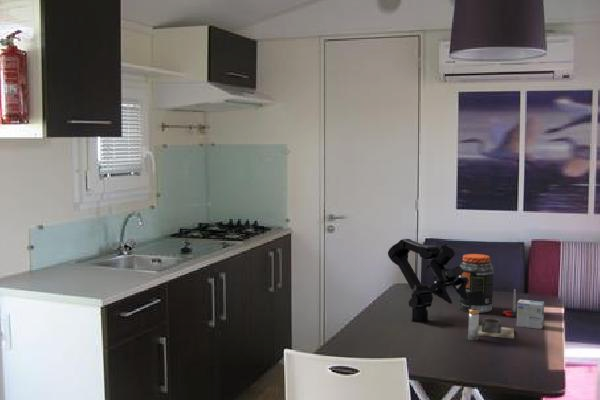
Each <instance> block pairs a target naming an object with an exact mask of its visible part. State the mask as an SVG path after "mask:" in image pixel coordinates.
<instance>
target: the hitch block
mask: <svg viewBox="0 0 600 400" xmlns="http://www.w3.org/2000/svg"><path fill="white" fill-rule="evenodd" d="M514 330H515V329H514V328H513V327H503V326H502V319H501V318H492V317H491V318H488V317H482V319H481V325H479V328H478V336H482V337H495V338H496V337H497V338H503V339H504V338H506V339H515V331H514Z"/></svg>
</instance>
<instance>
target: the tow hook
mask: <svg viewBox="0 0 600 400" xmlns="http://www.w3.org/2000/svg"><path fill="white" fill-rule="evenodd" d="M516 290H517V289H516V288H513V294H512V306H511V310H503V311H502V314H503V315H505V317H511V318H517V304H516V303H517V302H516V300H517V294H516Z"/></svg>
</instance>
